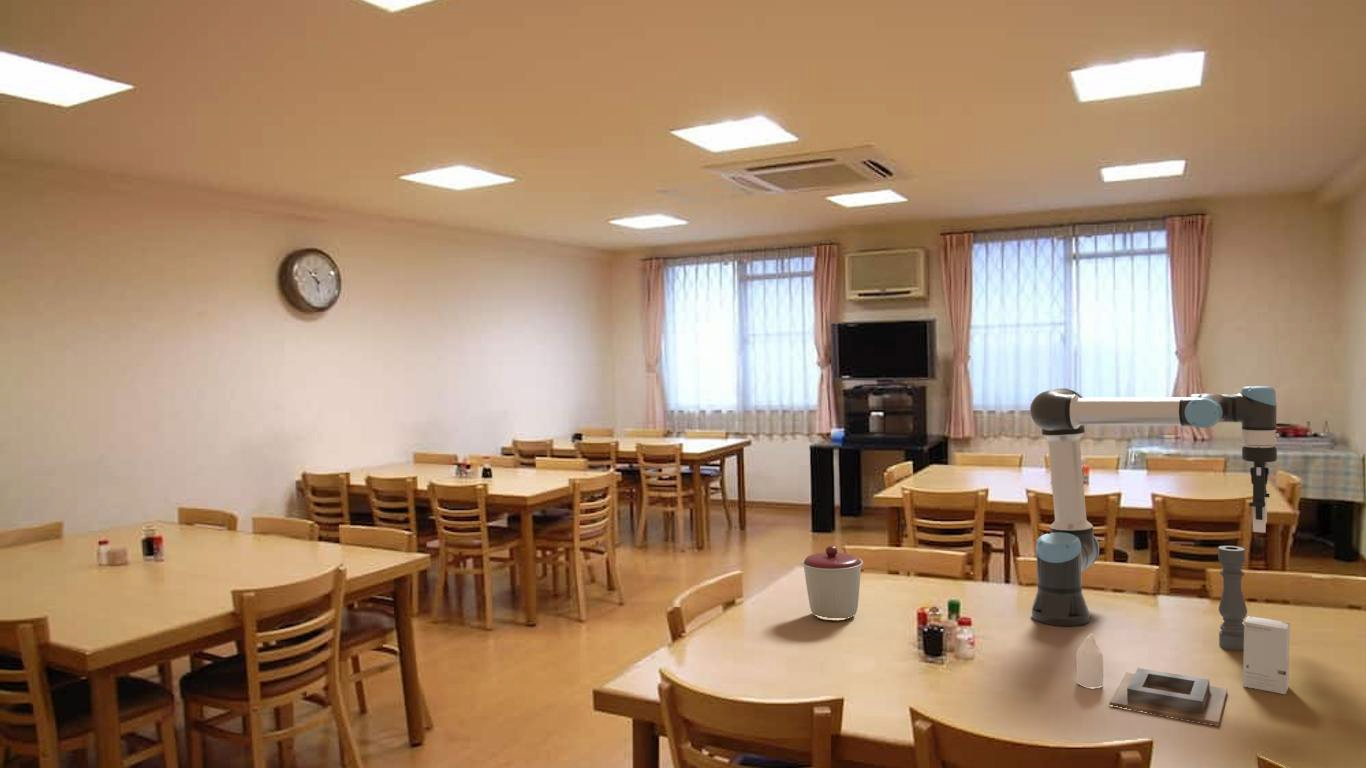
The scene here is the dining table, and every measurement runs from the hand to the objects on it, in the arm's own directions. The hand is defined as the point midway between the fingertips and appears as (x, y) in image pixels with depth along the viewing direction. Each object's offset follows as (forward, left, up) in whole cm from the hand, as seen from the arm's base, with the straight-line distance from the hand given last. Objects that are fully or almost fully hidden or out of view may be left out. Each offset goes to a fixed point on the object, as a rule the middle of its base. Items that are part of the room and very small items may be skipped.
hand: (1260, 527), depth 226 cm
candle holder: (-5, -14, -28) cm, 32 cm away
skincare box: (+3, -40, -28) cm, 49 cm away
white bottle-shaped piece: (-30, -57, -28) cm, 71 cm away
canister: (-104, -38, -28) cm, 115 cm away
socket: (-14, -58, -28) cm, 66 cm away
